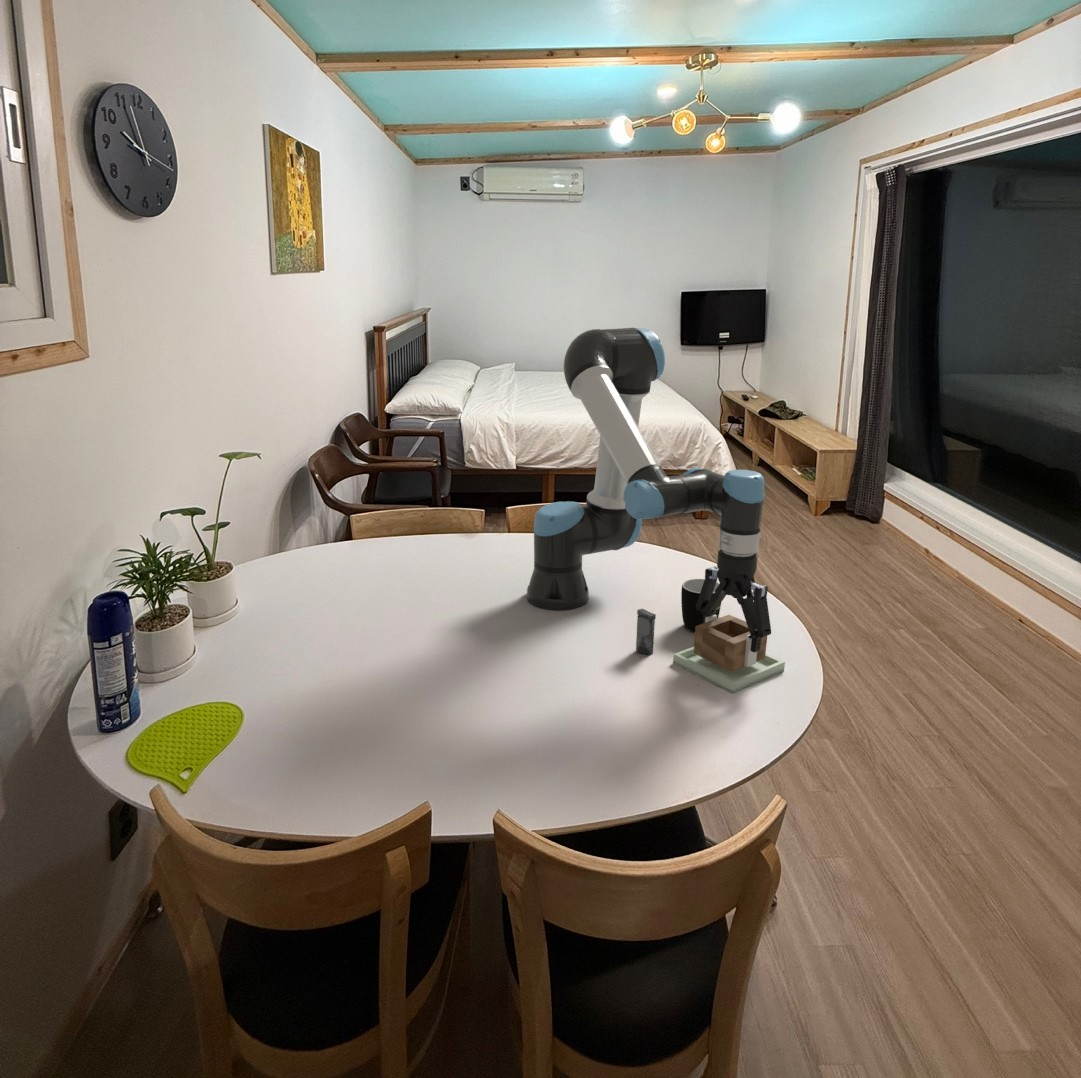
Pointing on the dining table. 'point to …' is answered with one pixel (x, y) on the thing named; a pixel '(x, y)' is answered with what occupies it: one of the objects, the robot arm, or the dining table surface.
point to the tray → (725, 677)
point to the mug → (693, 603)
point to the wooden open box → (725, 642)
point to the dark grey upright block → (645, 632)
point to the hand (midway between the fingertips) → (728, 654)
